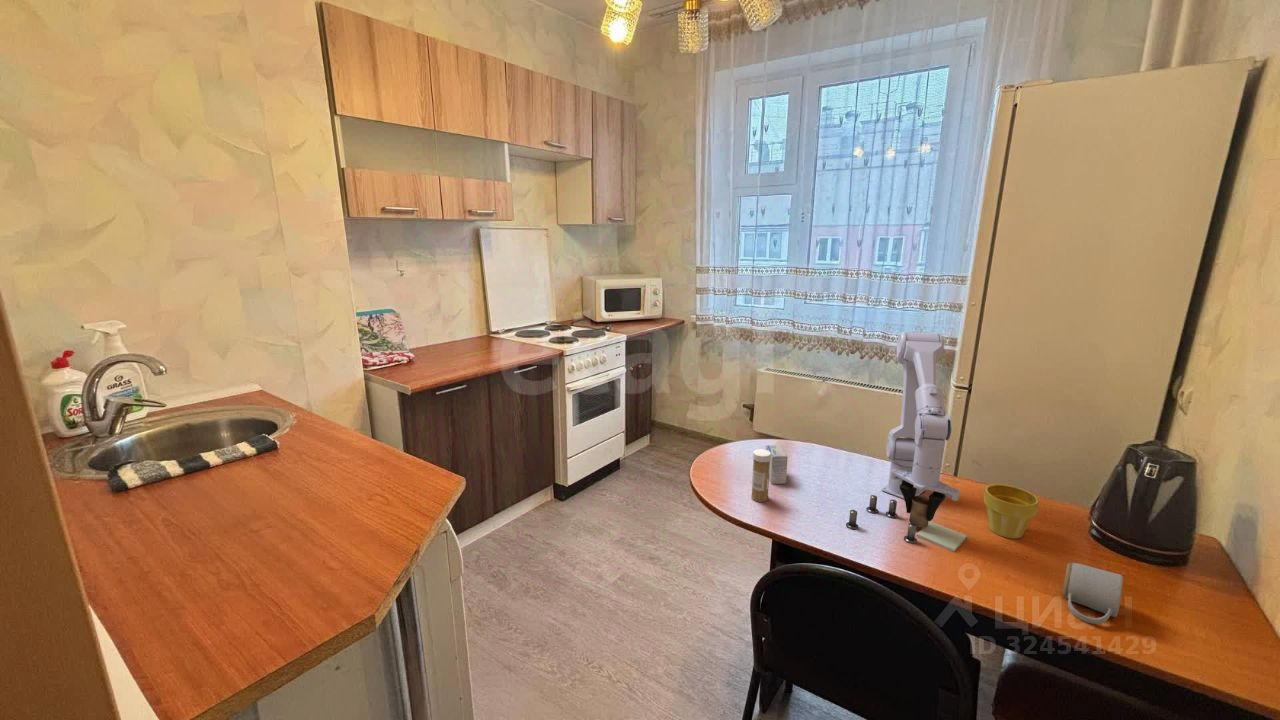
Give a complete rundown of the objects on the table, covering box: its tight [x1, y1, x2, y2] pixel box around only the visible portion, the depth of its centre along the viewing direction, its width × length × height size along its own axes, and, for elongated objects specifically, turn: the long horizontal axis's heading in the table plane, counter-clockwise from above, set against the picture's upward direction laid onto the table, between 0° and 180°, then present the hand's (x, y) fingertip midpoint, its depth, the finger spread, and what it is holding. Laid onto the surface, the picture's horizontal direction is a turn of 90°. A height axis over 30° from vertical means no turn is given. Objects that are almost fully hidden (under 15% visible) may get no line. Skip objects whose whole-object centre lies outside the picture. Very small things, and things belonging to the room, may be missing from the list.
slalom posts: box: [845, 494, 918, 545], centre depth 122 cm, size 15×14×4 cm
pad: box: [916, 521, 968, 553], centre depth 119 cm, size 8×8×1 cm
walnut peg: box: [908, 495, 930, 528], centre depth 121 cm, size 4×4×6 cm
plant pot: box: [983, 483, 1040, 540], centre depth 120 cm, size 10×10×10 cm
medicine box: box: [765, 444, 789, 485], centre depth 147 cm, size 8×4×9 cm, turn 179°
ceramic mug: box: [1062, 562, 1124, 625], centre depth 96 cm, size 11×8×8 cm
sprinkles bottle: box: [751, 448, 771, 503], centre depth 135 cm, size 5×5×14 cm
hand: (919, 515), depth 122 cm, fingers closed on walnut peg, 4 cm apart
